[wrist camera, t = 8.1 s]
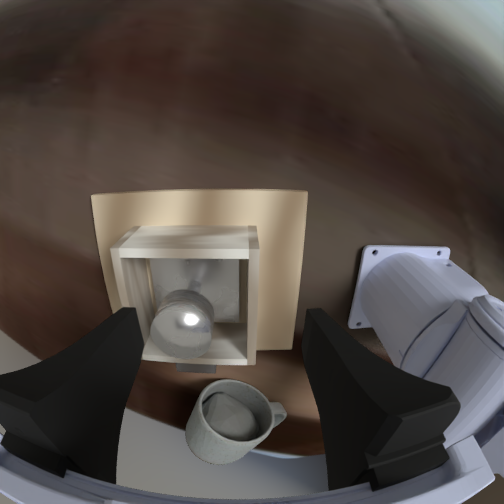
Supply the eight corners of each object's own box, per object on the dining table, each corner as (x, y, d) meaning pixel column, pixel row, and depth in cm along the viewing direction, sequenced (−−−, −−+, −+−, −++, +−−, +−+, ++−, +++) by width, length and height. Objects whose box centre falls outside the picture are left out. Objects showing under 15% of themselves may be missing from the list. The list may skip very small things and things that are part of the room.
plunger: (239, 242, 20) (237, 288, 14) (239, 318, 23) (238, 377, 17) (149, 242, 20) (116, 285, 14) (160, 316, 23) (139, 370, 17)
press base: (305, 190, 20) (324, 207, 15) (290, 345, 25) (298, 384, 20) (94, 194, 19) (59, 211, 15) (123, 339, 25) (106, 374, 20)
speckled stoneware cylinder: (185, 411, 29) (178, 465, 22) (202, 370, 26) (195, 433, 19) (268, 426, 31) (273, 477, 24) (297, 390, 28) (309, 448, 21)
